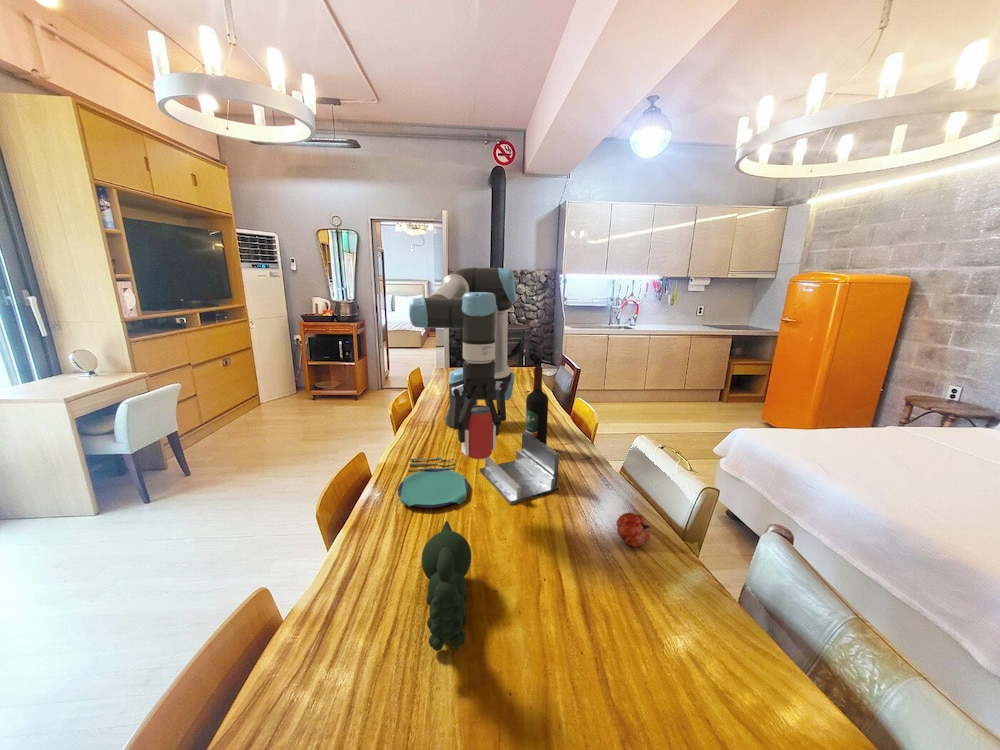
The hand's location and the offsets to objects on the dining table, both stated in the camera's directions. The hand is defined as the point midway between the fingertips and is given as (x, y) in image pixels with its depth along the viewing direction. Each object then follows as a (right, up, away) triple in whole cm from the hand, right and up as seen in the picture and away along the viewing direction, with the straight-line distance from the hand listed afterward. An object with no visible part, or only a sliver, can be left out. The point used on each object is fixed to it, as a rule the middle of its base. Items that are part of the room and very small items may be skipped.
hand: (478, 450), depth 92 cm
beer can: (0, -1, 0) cm, 1 cm away
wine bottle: (+18, -8, +39) cm, 44 cm away
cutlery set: (-14, -14, +18) cm, 27 cm away
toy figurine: (-4, -24, -24) cm, 34 cm away
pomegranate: (+36, -20, -6) cm, 41 cm away
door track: (+11, -13, +19) cm, 26 cm away
